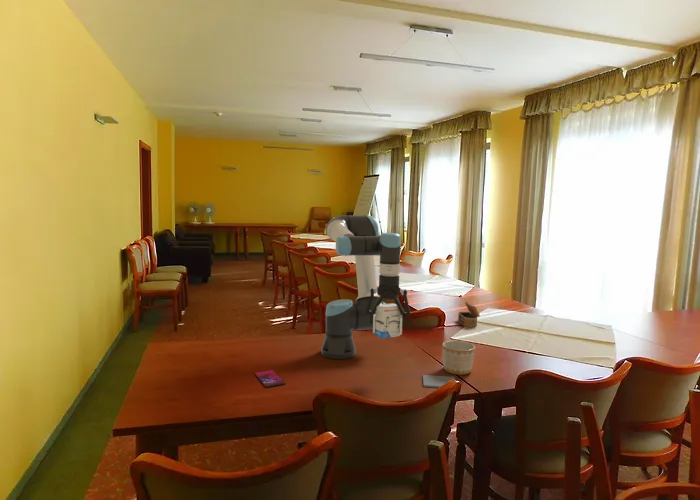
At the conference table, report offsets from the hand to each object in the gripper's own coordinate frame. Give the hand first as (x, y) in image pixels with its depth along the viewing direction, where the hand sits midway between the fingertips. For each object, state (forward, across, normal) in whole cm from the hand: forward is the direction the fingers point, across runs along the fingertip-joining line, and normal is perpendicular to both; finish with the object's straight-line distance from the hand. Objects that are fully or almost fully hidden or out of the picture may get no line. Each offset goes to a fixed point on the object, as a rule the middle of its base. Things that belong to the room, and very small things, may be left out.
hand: (387, 332), depth 176 cm
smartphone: (+18, -43, -10) cm, 48 cm away
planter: (+18, +28, +12) cm, 35 cm away
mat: (+17, +20, -2) cm, 27 cm away
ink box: (+1, 0, 0) cm, 1 cm away
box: (+18, +41, +86) cm, 97 cm away
